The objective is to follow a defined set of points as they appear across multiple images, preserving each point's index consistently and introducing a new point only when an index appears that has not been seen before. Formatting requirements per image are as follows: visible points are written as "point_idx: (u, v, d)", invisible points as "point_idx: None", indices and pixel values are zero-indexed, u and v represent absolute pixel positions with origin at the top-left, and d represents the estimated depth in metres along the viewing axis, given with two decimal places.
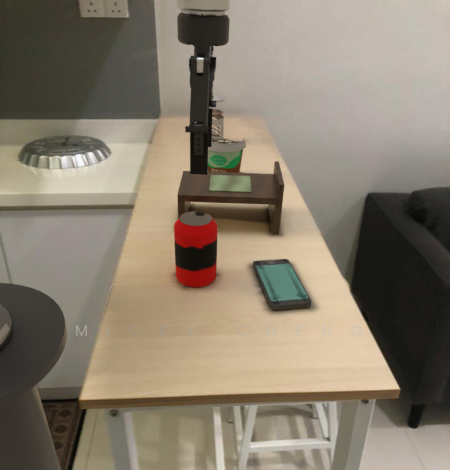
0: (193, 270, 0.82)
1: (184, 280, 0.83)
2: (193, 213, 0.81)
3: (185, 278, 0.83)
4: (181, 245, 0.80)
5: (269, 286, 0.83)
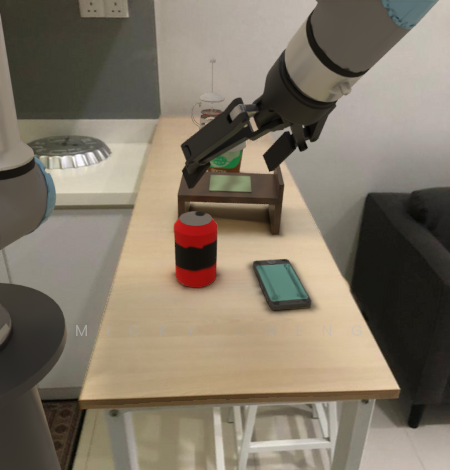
0: (193, 270, 0.82)
1: (184, 280, 0.83)
2: (193, 213, 0.81)
3: (185, 278, 0.83)
4: (181, 245, 0.80)
5: (269, 286, 0.83)
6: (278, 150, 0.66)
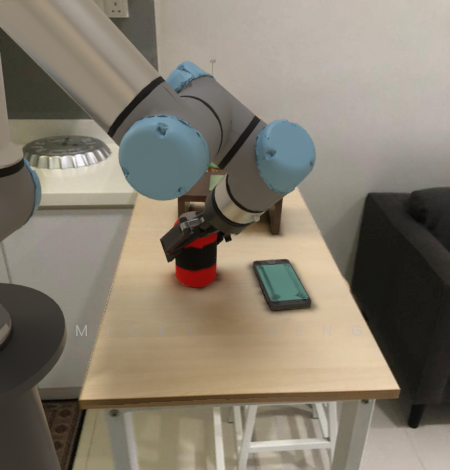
0: (193, 270, 0.82)
1: (184, 280, 0.83)
2: (193, 213, 0.81)
3: (185, 278, 0.83)
4: None
5: (269, 286, 0.83)
6: None
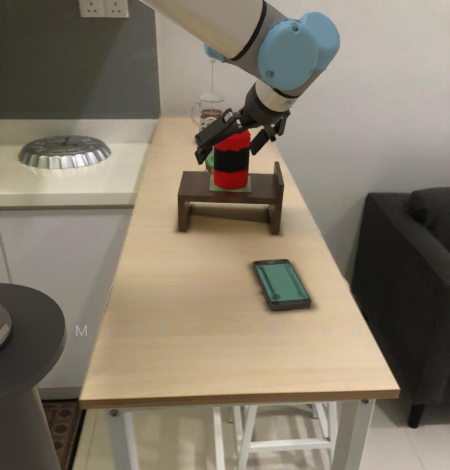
0: (230, 172, 0.97)
1: (222, 182, 0.99)
2: None
3: (223, 180, 0.98)
4: (220, 149, 0.95)
5: (269, 286, 0.83)
6: (257, 141, 1.00)
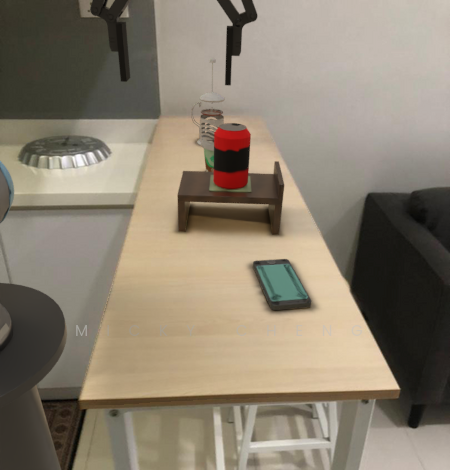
0: (230, 172, 0.97)
1: (222, 182, 0.99)
2: (230, 124, 0.97)
3: (223, 180, 0.98)
4: (220, 149, 0.95)
5: (269, 286, 0.83)
6: None
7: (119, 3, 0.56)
